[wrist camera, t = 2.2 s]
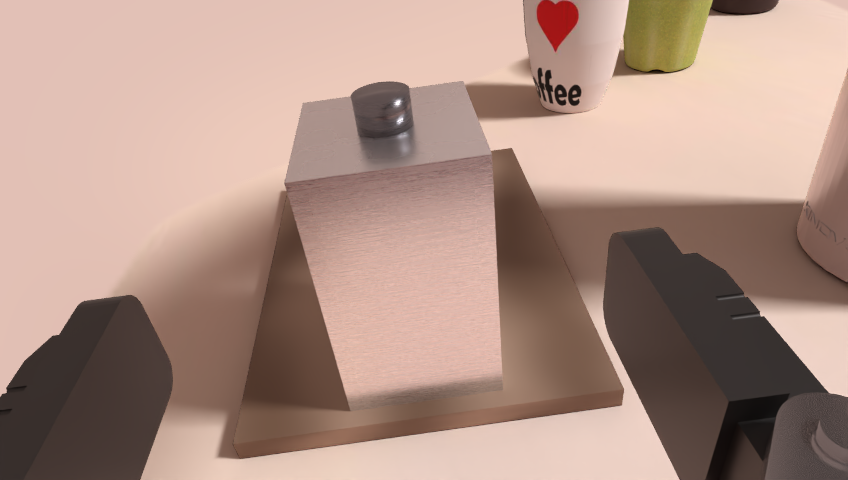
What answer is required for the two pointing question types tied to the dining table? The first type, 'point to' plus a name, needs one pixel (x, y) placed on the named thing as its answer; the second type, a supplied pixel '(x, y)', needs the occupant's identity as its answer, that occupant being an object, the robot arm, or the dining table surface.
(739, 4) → the bottle
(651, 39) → the plant pot
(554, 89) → the cup
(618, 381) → the walnut board
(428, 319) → the steel cover
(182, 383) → the dining table surface
